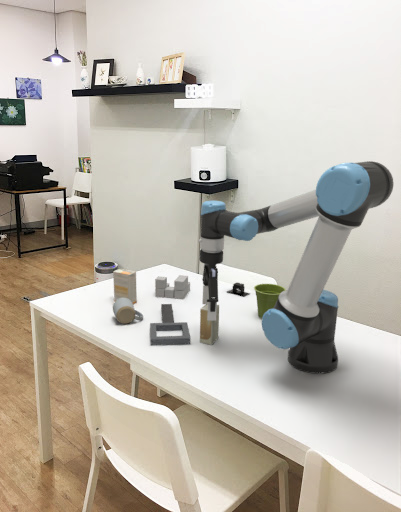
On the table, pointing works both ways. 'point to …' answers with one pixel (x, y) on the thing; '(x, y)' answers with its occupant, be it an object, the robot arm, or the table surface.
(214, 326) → the skincare box
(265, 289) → the plant pot
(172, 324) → the grey frame stand
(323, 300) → the robot arm
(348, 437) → the table surface
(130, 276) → the supplement box
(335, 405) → the table surface
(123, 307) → the ceramic mug
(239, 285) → the black bracket
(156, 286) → the puzzle cube
